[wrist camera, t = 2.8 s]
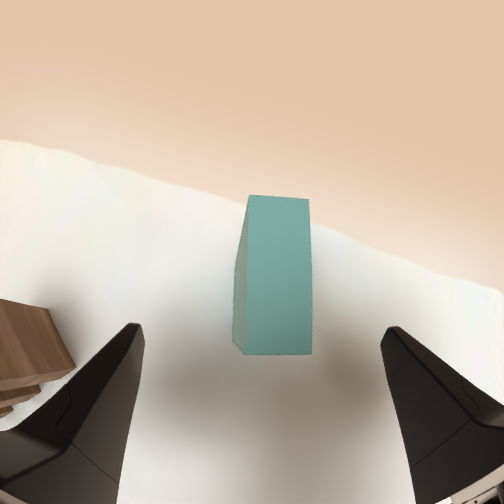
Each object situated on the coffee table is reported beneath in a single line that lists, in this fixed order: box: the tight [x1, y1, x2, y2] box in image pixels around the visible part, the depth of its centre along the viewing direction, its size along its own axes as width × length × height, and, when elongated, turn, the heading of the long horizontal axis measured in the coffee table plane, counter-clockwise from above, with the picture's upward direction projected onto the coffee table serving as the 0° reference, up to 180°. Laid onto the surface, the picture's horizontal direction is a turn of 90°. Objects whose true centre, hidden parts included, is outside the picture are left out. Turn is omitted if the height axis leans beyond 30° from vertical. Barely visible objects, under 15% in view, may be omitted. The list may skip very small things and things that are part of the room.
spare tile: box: [233, 195, 312, 355], centre depth 14 cm, size 2×5×11 cm, turn 178°
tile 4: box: [0, 299, 76, 391], centre depth 12 cm, size 2×5×11 cm, turn 35°
